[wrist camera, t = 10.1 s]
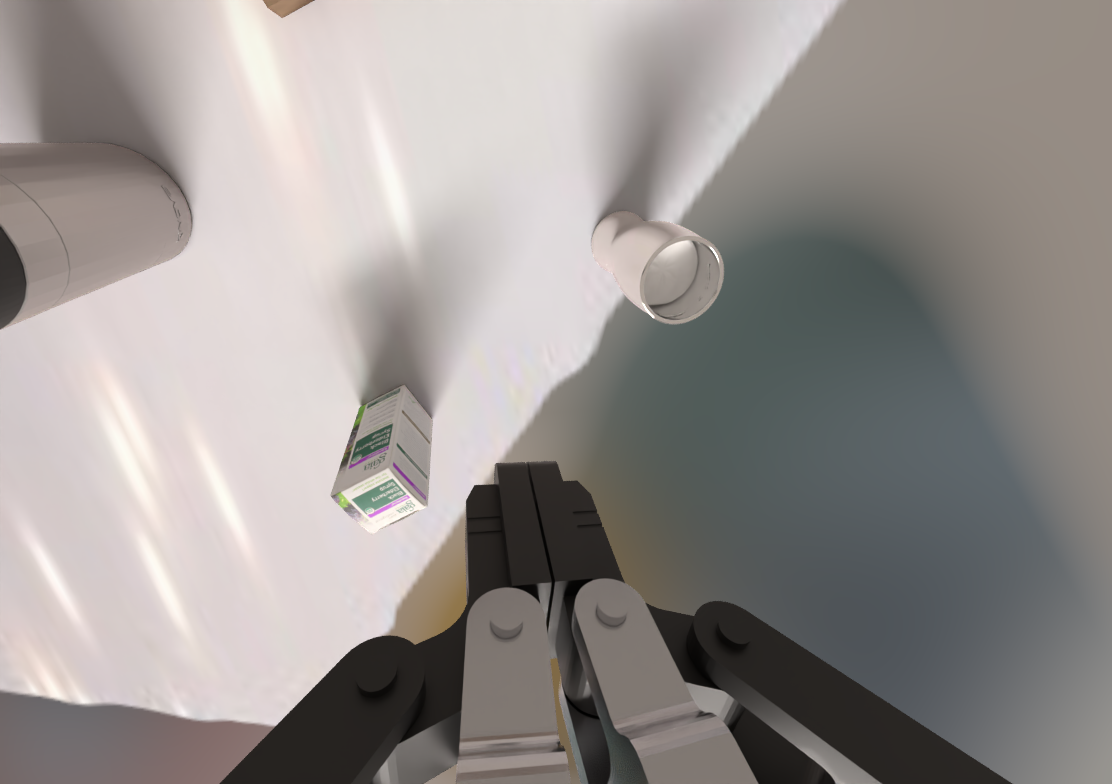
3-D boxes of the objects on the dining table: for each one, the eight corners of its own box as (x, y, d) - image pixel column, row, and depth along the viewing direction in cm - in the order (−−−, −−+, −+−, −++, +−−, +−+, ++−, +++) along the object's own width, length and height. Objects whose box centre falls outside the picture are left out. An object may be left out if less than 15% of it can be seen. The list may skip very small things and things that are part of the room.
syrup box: (404, 382, 49) (386, 464, 37) (435, 421, 52) (428, 509, 40) (359, 406, 49) (325, 496, 37) (392, 443, 52) (371, 538, 40)
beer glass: (596, 198, 44) (655, 222, 31) (661, 214, 46) (742, 243, 33) (579, 270, 47) (625, 319, 34) (640, 282, 49) (706, 333, 36)
